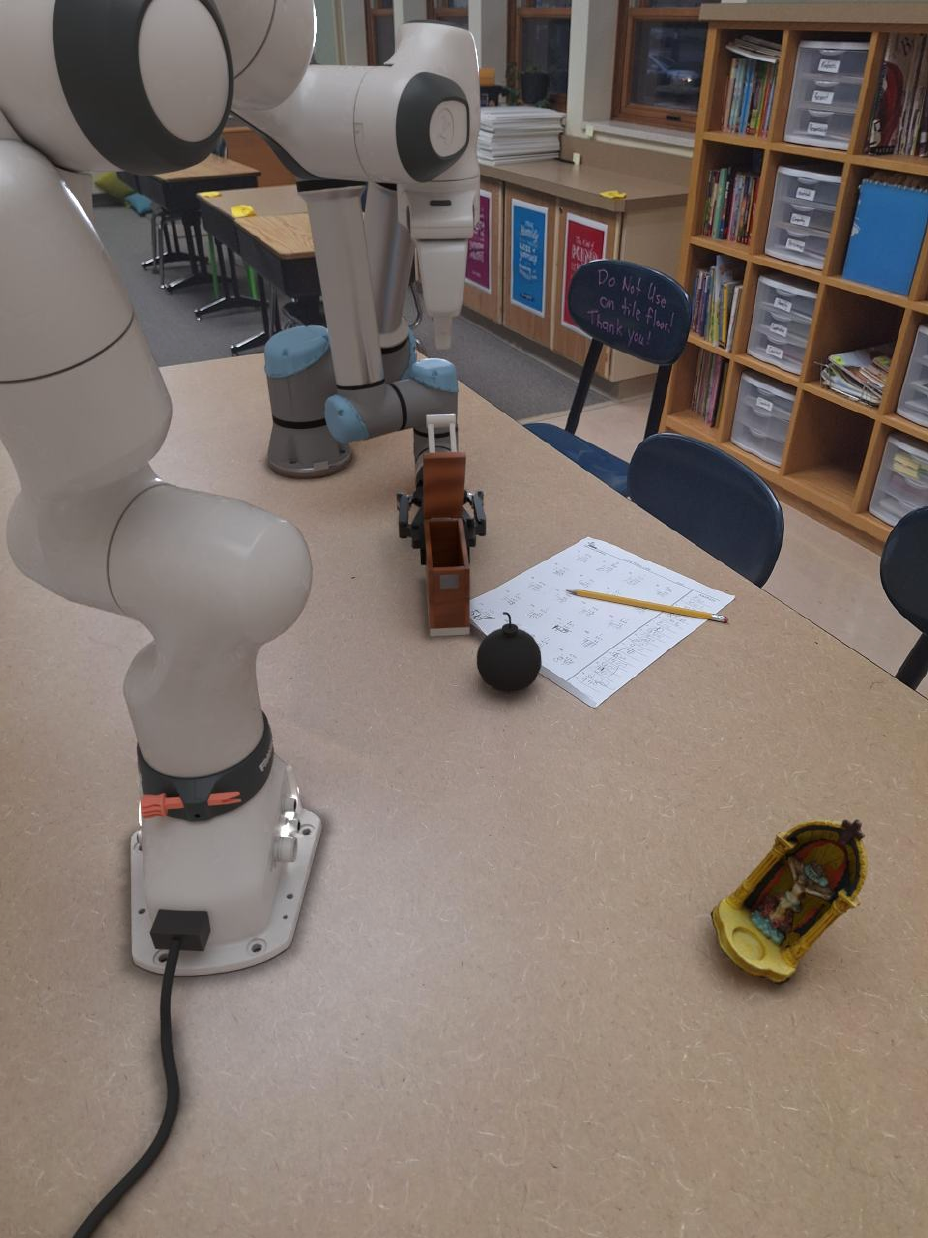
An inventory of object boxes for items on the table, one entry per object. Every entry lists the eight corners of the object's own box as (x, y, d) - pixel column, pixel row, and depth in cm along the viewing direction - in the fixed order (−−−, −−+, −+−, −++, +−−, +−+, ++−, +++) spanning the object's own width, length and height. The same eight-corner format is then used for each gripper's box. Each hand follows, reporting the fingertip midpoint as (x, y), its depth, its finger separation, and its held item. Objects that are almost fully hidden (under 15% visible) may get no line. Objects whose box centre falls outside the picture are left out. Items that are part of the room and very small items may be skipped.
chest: (469, 634, 115) (469, 568, 109) (430, 636, 115) (428, 570, 109) (462, 580, 126) (462, 517, 120) (426, 582, 126) (424, 519, 120)
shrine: (791, 892, 81) (830, 781, 73) (851, 966, 75) (901, 853, 66) (686, 929, 78) (714, 817, 69) (739, 1009, 72) (776, 896, 63)
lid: (466, 457, 107) (461, 402, 111) (423, 458, 107) (420, 403, 110) (462, 517, 120) (458, 466, 123) (424, 518, 119) (421, 467, 123)
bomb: (495, 658, 111) (497, 579, 104) (551, 678, 107) (556, 598, 100) (464, 692, 105) (464, 612, 98) (521, 714, 102) (525, 633, 95)
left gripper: (408, 187, 100) (412, 309, 108) (410, 224, 84) (415, 364, 92) (462, 187, 101) (462, 308, 109) (474, 223, 84) (474, 363, 92)
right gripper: (495, 499, 140) (510, 576, 121) (382, 503, 139) (379, 581, 120) (496, 457, 136) (512, 530, 117) (379, 460, 135) (376, 534, 116)
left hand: (441, 334), depth 100 cm, fingers open, 8 cm apart
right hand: (445, 555), depth 118 cm, fingers closed on chest, 5 cm apart
